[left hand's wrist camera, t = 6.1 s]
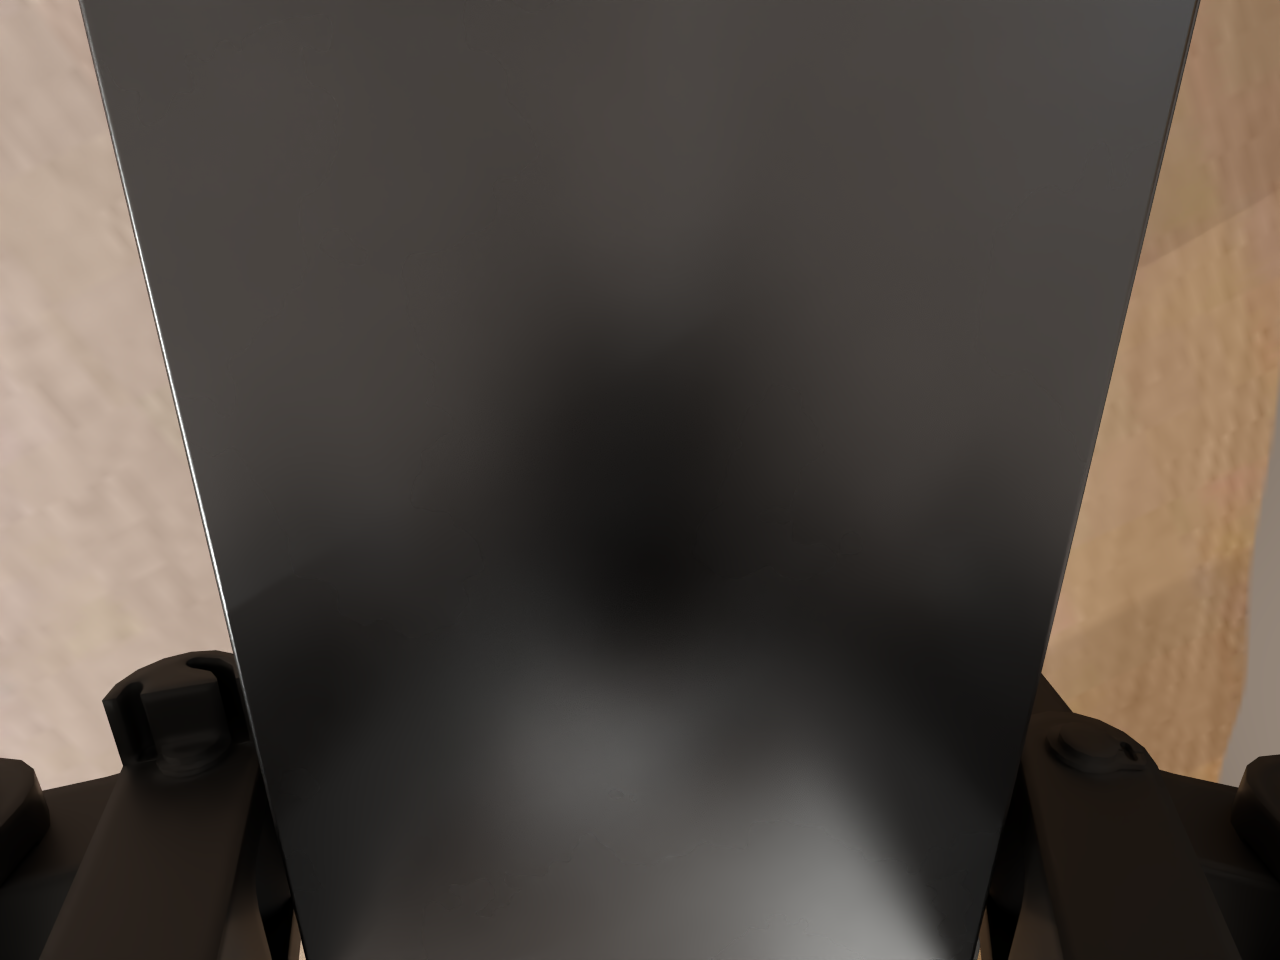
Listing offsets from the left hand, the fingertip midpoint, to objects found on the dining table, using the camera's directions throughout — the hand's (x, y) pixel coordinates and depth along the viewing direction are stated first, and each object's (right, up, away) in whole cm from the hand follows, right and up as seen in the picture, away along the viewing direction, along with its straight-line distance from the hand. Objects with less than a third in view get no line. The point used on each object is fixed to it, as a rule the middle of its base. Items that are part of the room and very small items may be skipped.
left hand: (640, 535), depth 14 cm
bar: (0, +9, -3) cm, 9 cm away
